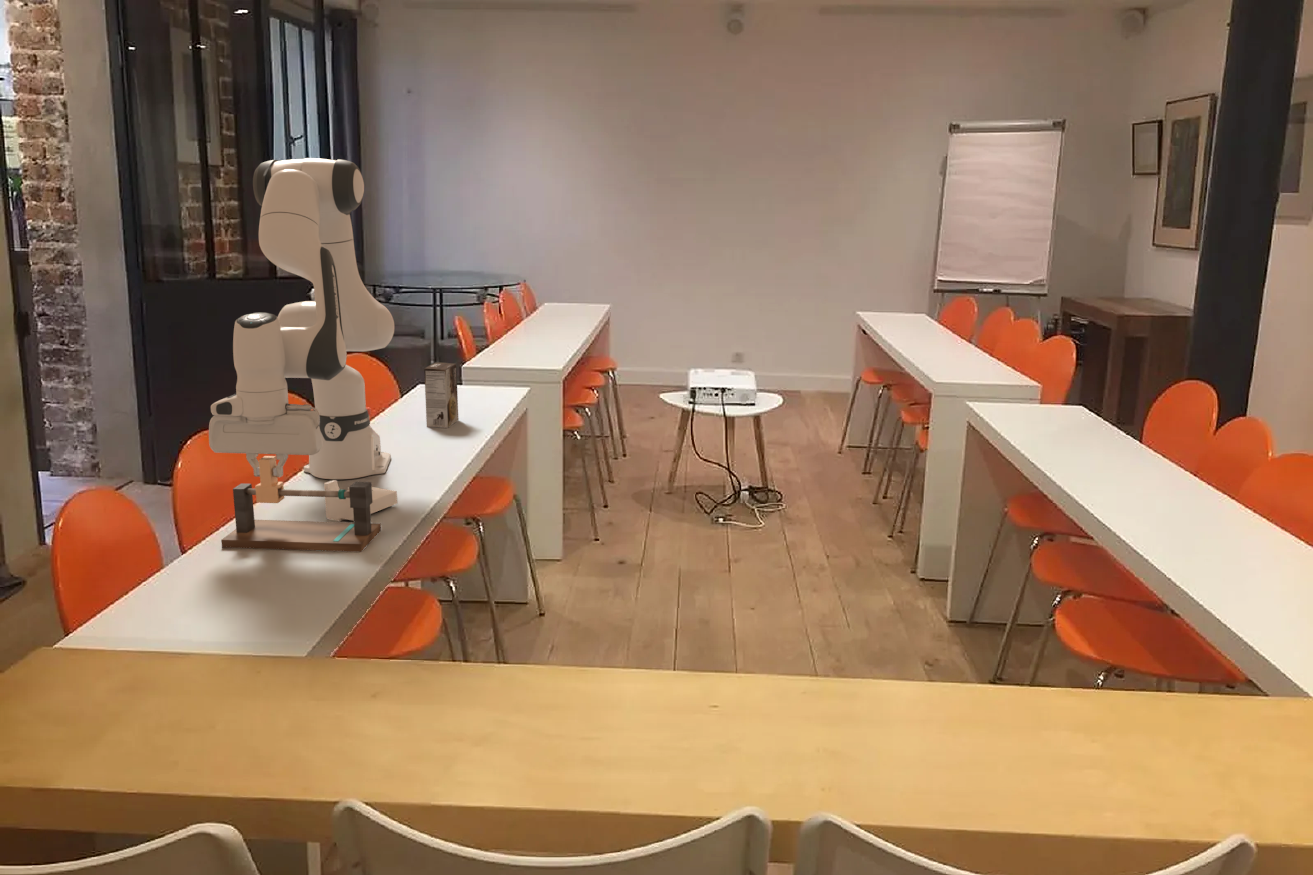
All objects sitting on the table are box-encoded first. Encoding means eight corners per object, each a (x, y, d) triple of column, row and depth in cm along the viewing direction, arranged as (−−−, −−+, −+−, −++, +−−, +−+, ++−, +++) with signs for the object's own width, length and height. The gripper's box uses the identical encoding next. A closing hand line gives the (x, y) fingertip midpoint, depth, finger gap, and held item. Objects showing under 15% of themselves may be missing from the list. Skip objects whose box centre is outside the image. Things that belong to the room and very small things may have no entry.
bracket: (353, 525, 217) (351, 488, 215) (326, 519, 220) (324, 483, 218) (397, 507, 228) (395, 472, 226) (370, 502, 231) (368, 468, 229)
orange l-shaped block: (263, 497, 208) (260, 455, 206) (284, 498, 207) (281, 456, 205) (256, 502, 205) (253, 459, 203) (277, 503, 204) (274, 460, 202)
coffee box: (436, 419, 305) (434, 361, 301) (459, 420, 304) (457, 362, 300) (425, 427, 296) (423, 367, 293) (448, 428, 296) (446, 368, 292)
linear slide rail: (249, 526, 214) (245, 472, 211) (381, 530, 212) (378, 475, 210) (221, 547, 202) (216, 490, 200) (361, 551, 201) (357, 494, 198)
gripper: (324, 401, 204) (329, 473, 207) (217, 398, 205) (223, 470, 209) (312, 408, 198) (317, 482, 201) (201, 405, 199) (208, 479, 202)
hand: (268, 476), depth 205 cm, fingers closed on orange l-shaped block, 2 cm apart
